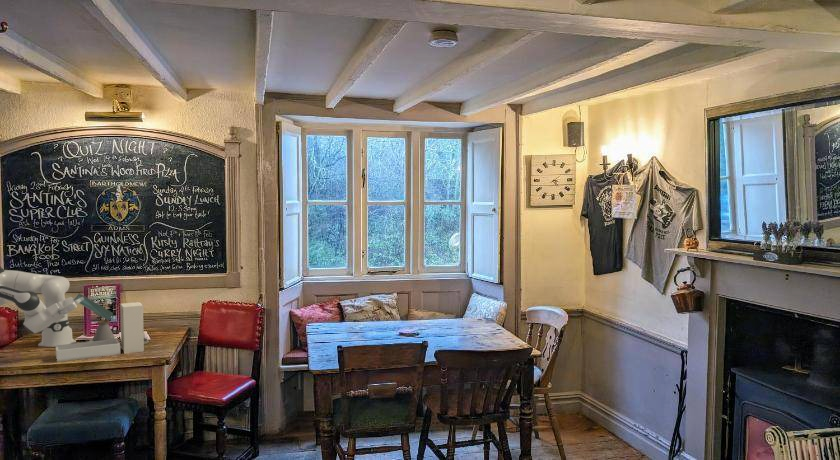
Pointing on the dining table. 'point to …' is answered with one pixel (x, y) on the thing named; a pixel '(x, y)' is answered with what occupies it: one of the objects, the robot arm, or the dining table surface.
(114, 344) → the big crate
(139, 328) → the tall white pillar
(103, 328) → the coffee pot
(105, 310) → the teal rectangular bar
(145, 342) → the ceramic mug
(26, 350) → the dining table surface
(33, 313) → the robot arm
